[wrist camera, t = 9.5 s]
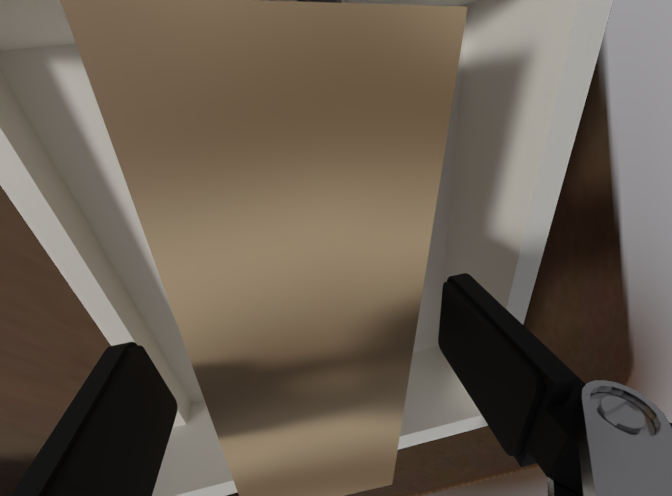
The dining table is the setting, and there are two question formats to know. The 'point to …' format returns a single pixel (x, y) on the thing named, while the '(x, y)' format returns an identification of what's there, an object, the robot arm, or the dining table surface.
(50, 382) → the dining table surface
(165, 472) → the carcass
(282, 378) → the shelf board
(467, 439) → the dining table surface
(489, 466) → the dining table surface
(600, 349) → the dining table surface
